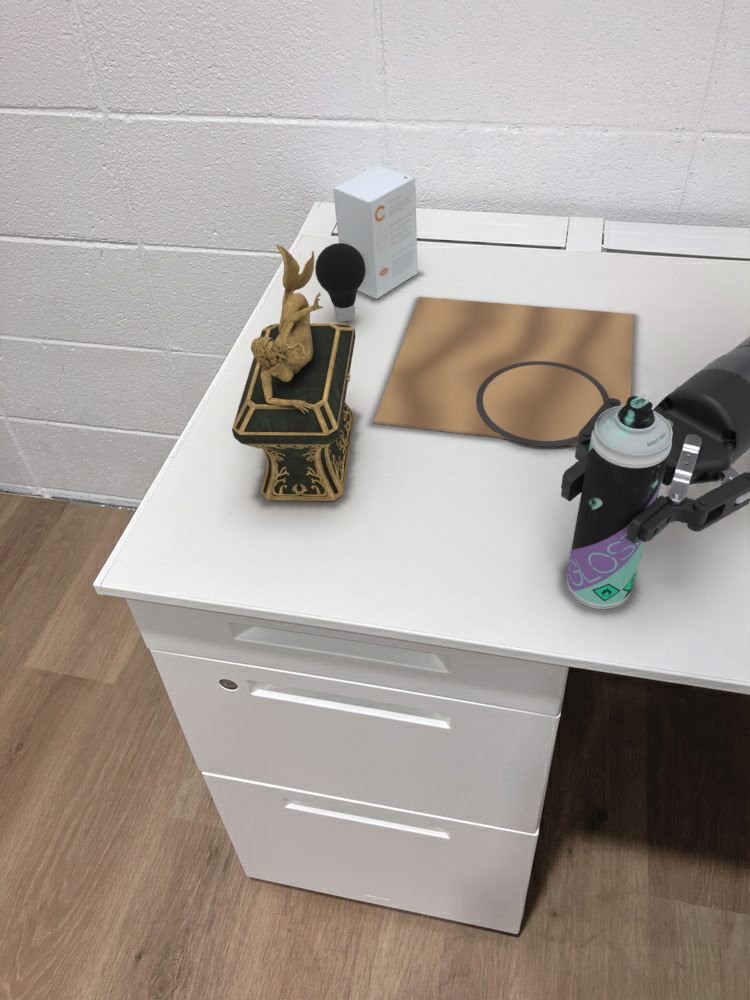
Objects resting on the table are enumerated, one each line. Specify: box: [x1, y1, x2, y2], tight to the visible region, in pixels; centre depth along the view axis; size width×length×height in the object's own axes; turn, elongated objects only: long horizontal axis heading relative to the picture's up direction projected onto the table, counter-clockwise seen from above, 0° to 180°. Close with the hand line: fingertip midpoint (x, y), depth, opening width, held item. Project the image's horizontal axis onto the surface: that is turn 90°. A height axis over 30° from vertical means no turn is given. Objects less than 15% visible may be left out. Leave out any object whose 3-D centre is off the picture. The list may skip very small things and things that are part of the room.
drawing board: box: [373, 296, 635, 447], centre depth 90 cm, size 26×25×1 cm
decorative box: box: [231, 243, 356, 502], centre depth 76 cm, size 20×10×20 cm, turn 175°
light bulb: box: [314, 242, 366, 323], centre depth 95 cm, size 6×6×10 cm
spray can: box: [565, 395, 673, 610], centre depth 61 cm, size 6×6×20 cm
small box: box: [332, 164, 419, 300], centre depth 100 cm, size 8×6×13 cm
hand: (598, 511), depth 60 cm, fingers closed on spray can, 5 cm apart
